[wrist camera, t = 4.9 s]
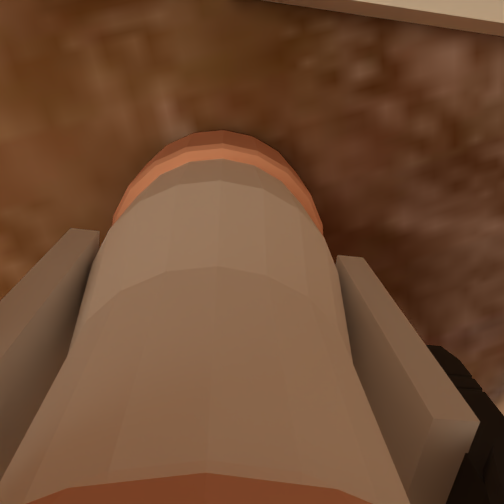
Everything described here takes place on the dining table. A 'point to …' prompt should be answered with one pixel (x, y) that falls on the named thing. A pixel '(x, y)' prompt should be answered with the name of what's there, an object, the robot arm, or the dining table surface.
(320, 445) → the salt shaker
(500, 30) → the scale base
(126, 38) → the dining table surface
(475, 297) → the dining table surface
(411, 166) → the dining table surface
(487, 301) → the dining table surface
